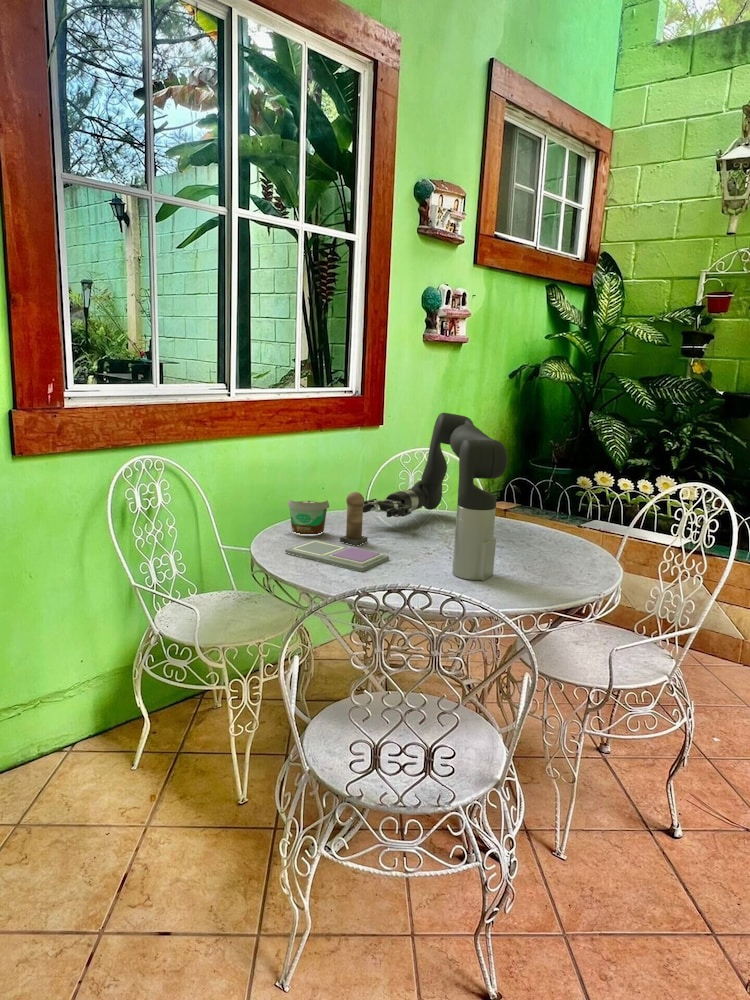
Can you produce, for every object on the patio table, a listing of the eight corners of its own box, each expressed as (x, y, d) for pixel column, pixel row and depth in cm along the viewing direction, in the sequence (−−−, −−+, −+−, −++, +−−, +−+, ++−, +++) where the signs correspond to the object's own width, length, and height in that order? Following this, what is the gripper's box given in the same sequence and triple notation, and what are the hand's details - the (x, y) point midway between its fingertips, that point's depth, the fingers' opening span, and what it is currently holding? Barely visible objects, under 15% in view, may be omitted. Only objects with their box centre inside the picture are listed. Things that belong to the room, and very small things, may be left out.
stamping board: (389, 559, 168) (389, 552, 167) (362, 571, 157) (362, 564, 156) (315, 542, 180) (315, 536, 179) (285, 553, 169) (285, 546, 168)
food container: (284, 536, 185) (285, 502, 182) (286, 531, 191) (287, 498, 188) (327, 538, 185) (328, 504, 183) (328, 532, 191) (329, 499, 189)
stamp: (367, 542, 183) (369, 492, 180) (356, 546, 178) (358, 495, 175) (350, 538, 186) (352, 489, 183) (339, 542, 181) (341, 492, 178)
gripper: (383, 488, 206) (355, 495, 192) (422, 494, 199) (396, 502, 185) (382, 510, 208) (354, 519, 194) (421, 517, 200) (395, 527, 187)
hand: (375, 511), depth 190 cm, fingers open, 8 cm apart
